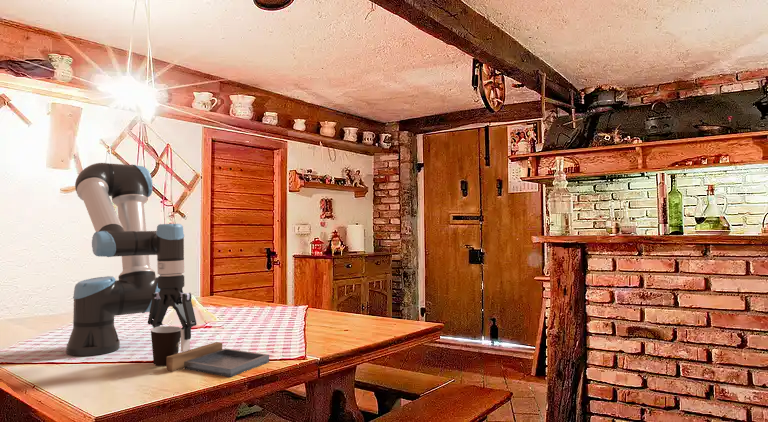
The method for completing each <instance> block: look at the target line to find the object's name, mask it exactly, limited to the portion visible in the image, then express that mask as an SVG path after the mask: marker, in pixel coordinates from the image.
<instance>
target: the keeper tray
mask: <svg viewBox="0 0 768 422" xmlns="http://www.w3.org/2000/svg"><path fill="white" fill-rule="evenodd" d="M269 362H270V354H266V353H260V352H252V351H246V350H238V349H231V348H226V347H225V348H222V350H219V351H216V352H213V353H209V354H206V355H203V356H200V357H197V358H194V359H191V360H187V361H184V368H183V369H184V370H185V371H186V370H187V371H192V372H198V373H203V374H210V375H215V376H216V375H217V376H221V377H226V378H233V377H235V376H237V374H238V375H240V374H243V373H245V372H248V371H250V370H252V368H253V369H255V368H258V367H260V366H262V365H265V364H268V363H269ZM247 370H248V371H247ZM244 371H245V372H244ZM242 372H243V373H242Z"/></svg>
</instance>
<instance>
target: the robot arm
mask: <svg viewBox="0 0 768 422" xmlns="http://www.w3.org/2000/svg"><path fill="white" fill-rule="evenodd" d="M148 169H149V168H147V167H145V166H142V165H136V164H124V163H123V164H121V163H107V162H97V163H93V164H90V165H88V166H87V167H85V168H83V169H82V170H81V171H80V172H79V174H78V175H77V178H76V180H75V182H74V183H75V184H74V187H75V192H76V194H77V197H78V198H79V199H80V200H81V201H83V204H84V206H85V208H86V210H87V213H88V215H89V218H90V221H91V222H92V226H93V229H94V231H95V232H94V233H93V235H92V237H91V238H92V239H91V248H92V253H93V255H95V256H96V257H101V258H102V257H106V258H113V257H114V258H115V257H121V263H122V271H121V272H120V274H119V275H118V276H117V277H118V280H116V278H115V277H114V276H111V275H110V276H109V275H107V276H97V277H93V278H92V277H91V278H88V279H87V278H86V279H84V280H81V281H78V282H77V283H76V284H75V286H74V289H73V296H72V298H73V315H72V316H73V320H72V321H73V323H72V324H73V325H72V326H73V327H72V331H71V333H70V335H69V339H68V343H67V344H66V351H65V352H66V354H67V355H69V356H75V357H77V356H78V357H86V356H87V357H88V356H98V355H104V354H109V353H112V352H116V351H117V350H119V349H120V343H121V342H120V339H119V335H118V333H117V330H116V326H115V316H124V315H125V316H126V315H132V314H134V315H135V314H144V313H148V320H147V325H151V327H152V329H153V328H156V327H163V326H164V325H163V324H164V323H163V321H164V319H165V315H166V314H167V311H168V308H170V307H172V309H173V310H175V312H176V315H177V317H178V319H179V322H180V324H181V326H182V327H181V338H180V352H184V351H188V350H191V340H190V339H192V336H191V335H192V327H195V326H197V325H198V324H197V320H196V316H195V315H196V314H195V311H194V306H193V302H192V293H191V292H187V293H186V292H185V293H184V291H183V288H184V287H185V275H184V273H185V256H184V255H185V241H184V240H185V239H184V238H185V234H184V233H185V232H184V226H183V225H182V224H181V223H160V224H157V227H156V230H147V224H146V214H145V213H146V212H145V203H146V202H148V200H149V198H150V196H152V193H153V185H154V184H153V179H152V175H151V173H150V171H149V170H148ZM114 205H115V206H116V207H117V211H116V208H115V206H114ZM150 256H157V257H156V263H157V265H156V267H157V275H158V277H157V276H156V271H155V270H154V269H152V268H151V266H150V265H151V264H150V263H151V262H150Z"/></svg>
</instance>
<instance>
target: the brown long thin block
mask: <svg viewBox="0 0 768 422" xmlns="http://www.w3.org/2000/svg"><path fill="white" fill-rule="evenodd" d="M222 349H223V342H221V341H219V342H218V341H216V342H215V341H214V342H212V343H209V344H205V345H202V346H198V347H196V348H192V349H191V348H190V350H187V351H183V352H182V351H180V352H178V354H174V355H171V356H167V359H166V366H165V367H166V370H165V371H166V372H170V373H171V372H172V373H173V372H177V371H179V370H183V369H184V361H187V360H191V359H194V358H197V357H200V356H203V355H206V354H209V353H213V352H216V351H219V350H222Z"/></svg>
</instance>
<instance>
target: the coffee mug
mask: <svg viewBox="0 0 768 422" xmlns="http://www.w3.org/2000/svg"><path fill="white" fill-rule="evenodd" d="M162 326H163V327H156V328H153V327H152V328H151V329H150V336H151V347H152V348H151V350H152V360H153V362H152V363H153V365H154V366H157V367H166V359H167V356H171V355H174V354H178V353H179V350H180V346H181V328H182V327H180V326H176V325H175V326H173V325H169V326H168V325H165V326H164V325H162Z"/></svg>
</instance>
